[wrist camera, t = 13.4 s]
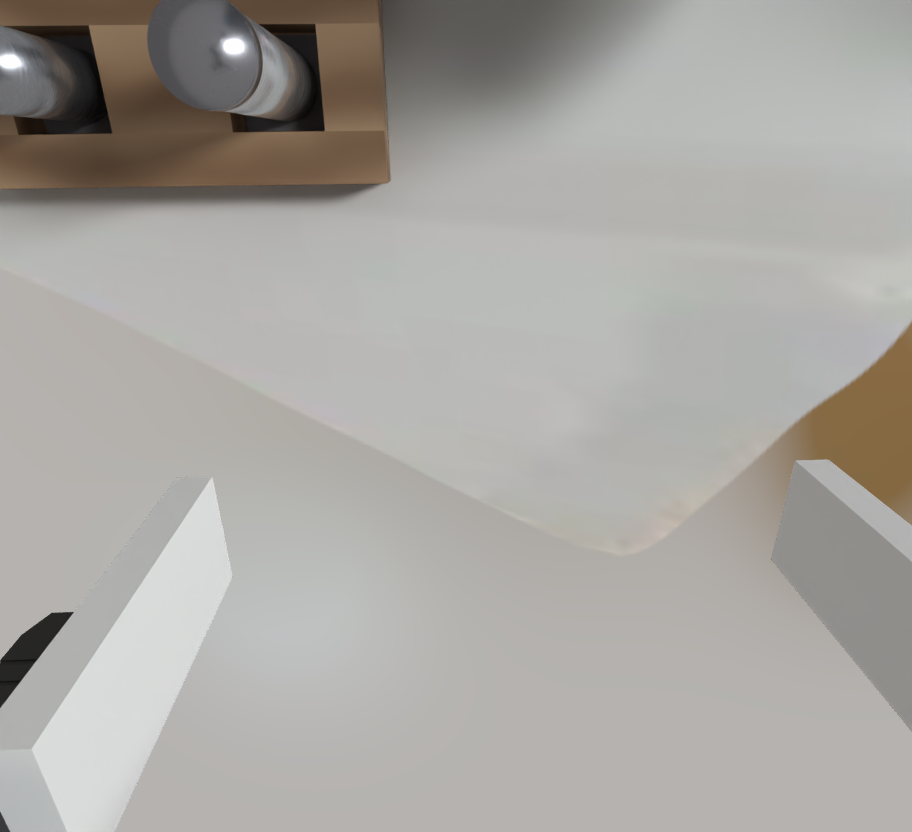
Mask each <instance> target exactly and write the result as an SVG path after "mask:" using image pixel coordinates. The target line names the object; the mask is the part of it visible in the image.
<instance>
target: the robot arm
mask: <svg viewBox="0 0 912 832" xmlns="http://www.w3.org/2000/svg"><path fill="white" fill-rule="evenodd" d="M771 560H772V561H773V563H774V564H775V565H776V566H777V568H778V569H779V570H780V571H781V572H782V574H783V575H784V576H785V577H786V578H787V580H788V581H789V582H790V583H791V585H792V586H793V587H794V588H795V590H796V591H797V592H798V593H799V594H800V596H801V597H802V598H803V599H804V600H805V602H806V603H807V604H808V605H809V607H810V608H811V609H812V610H813V612H814V613H815V614H816V615H817V616H818V618H819V619H820V620H821V621H822V622H823V624H824V625H825V626H826V627H827V629H828V630H829V631H830V632H831V634H832V635H833V636H834V637H835V638H836V640H837V641H838V642H839V643H840V644H841V646H842V647H843V648H844V649H845V651H846V652H847V653H848V654H849V655H850V657H851V658H852V659H853V660H854V661H855V663H856V664H857V665H858V666H859V667H860V669H861V670H862V671H863V673H864V674H865V675H866V676H867V677H868V679H869V680H870V681H871V682H872V683H873V685H874V686H875V687H876V688H877V690H878V691H879V692H880V693H881V694H882V696H883V697H884V698H885V699H886V701H887V702H888V703H889V704H890V706H891V707H892V708H893V709H894V710H895V712H896V713H897V714H898V715H899V717H900V718H901V719H902V720H903V721H904V723H905V724H906V725H907V726H908V728H909V729H910V730H911V731H912V526H911V525H910V524H909V523H907V522H906V521H905V520H904V519H902V518H901V517H900V516H899V515H897V514H896V513H895V512H894V511H892V510H891V509H890V508H888V507H887V506H886V505H885V504H884V503H882V502H881V501H880V500H879V499H877V498H876V497H875V496H873V495H872V494H871V493H870V492H868V491H867V490H866V489H865V488H863V487H862V486H861V485H860V484H858V483H857V482H856V481H854V480H853V479H852V478H851V477H849V476H848V475H847V474H846V473H844V472H843V471H842V470H841V469H839V468H838V467H837V466H836V465H834V464H833V463H832V462H831V461H829V460H799V461H795V464H794V468H793V472H792V476H791V480H790V485H789V488H788V492H787V497H786V501H785V504H784V508H783V512H782V516H781V521H780V525H779V529H778V533H777V537H776V541H775V545H774V549H773V553H772V557H771ZM231 578H232V573H231V568H230V563H229V558H228V552H227V548H226V542H225V537H224V533H223V527H222V523H221V518H220V512H219V508H218V502H217V497H216V493H215V488H214V483H213V478H212V477H178V478H177V479H176V480H175V481H174V482H173V484H172V485H171V486H170V488H169V489H168V490H167V492H166V493H165V494H164V495H163V497H162V498H161V499H160V501H159V502H158V503H157V505H156V506H155V507H154V508H153V510H152V511H151V512H150V514H149V515H148V516H147V518H146V519H145V520H144V522H143V523H142V524H141V525H140V527H139V528H138V529H137V531H136V532H135V533H134V535H133V536H132V537H131V539H130V540H129V541H128V542H127V544H126V545H125V546H124V548H123V549H122V550H121V552H120V553H119V554H118V555H117V557H116V558H115V559H114V561H113V562H112V563H111V565H110V566H109V567H108V569H107V570H106V571H105V572H104V574H103V575H102V576H101V578H100V579H99V580H98V582H97V583H96V584H95V585H94V587H93V588H92V589H91V591H90V592H89V593H88V595H87V596H86V597H85V598H84V600H83V601H82V602H81V604H80V605H79V606H78V608H77V609H76V610H75V611H74V612H63V613H51V614H50V615H48V616H47V617H45V618H44V619H43V620H42V621H40V622H39V623H37V624H36V625H35V626H33V627H32V628H30V629H29V630H28V631H26V632H25V633H24V634H22V635H21V636H20V637H19V639H18V640H17V641H16V642H15V643H14V645H13V646H12V647H11V648H10V649H9V651H8V652H7V653H6V654H5V656H4V657H3V658H2V659H1V660H0V832H115V829H116V827H117V825H118V823H119V821H120V819H121V816H122V814H123V812H124V810H125V808H126V806H127V803H128V801H129V799H130V797H131V795H132V793H133V791H134V788H135V786H136V784H137V782H138V780H139V777H140V775H141V773H142V771H143V769H144V767H145V765H146V762H147V760H148V758H149V756H150V754H151V752H152V749H153V747H154V745H155V743H156V741H157V738H158V736H159V734H160V732H161V730H162V728H163V726H164V723H165V721H166V719H167V717H168V715H169V713H170V711H171V708H172V706H173V704H174V701H175V700H176V697H177V695H178V693H179V691H180V689H181V687H182V685H183V682H184V680H185V678H186V676H187V674H188V672H189V669H190V667H191V665H192V663H193V660H194V658H195V657H196V654H197V652H198V650H199V648H200V646H201V643H202V641H203V639H204V637H205V635H206V633H207V631H208V628H209V626H210V624H211V622H212V620H213V618H214V615H215V613H216V611H217V609H218V607H219V605H220V602H221V600H222V598H223V596H224V594H225V592H226V590H227V587H228V585H229V583H230V581H231Z"/></svg>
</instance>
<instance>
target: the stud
mask: <svg viewBox="0 0 912 832" xmlns="http://www.w3.org/2000/svg"><path fill="white" fill-rule="evenodd" d="M147 45H148V52H149V56H150V60H151V63H152V65H153V68H154V70H155V72H156V74H157V76H158V77H159V79H160V81H161V82H162V83H163V85H164V86H165V87H166V88H167V89H168V90H169V91H170V92H171V93H172V94H173V95H174V96H175V97H176V98H178V99H179V100H181V101H182V102H184V103H186V104H188V105H190V106H192V107H195V108H198V109H203V110H209V111H225V112H231V113H237V114H243V115H249V116H255V117H261V118H268V119H274V120H280V121H295V120H298V119H301V118H302V117H304V116H305V115H306V114H308V113H309V111H310V110H311V109H312V107H313V105H314V103H315V101H316V97H317V90H318V88H317V79H316V75H315V73H314V70H313V68H312V66H311V65H310V63H309V62H308V61H307V59H306V58H305V57H304V56H303V55H301V54H300V53H299V52H297V51H296V50H294V49H293V48H292V47H290V46H289V45H287V44H286V43H284V42H283V41H282V40H280V39H279V38H277V37H276V36H274V35H273V34H271V33H270V32H269V31H267V30H266V29H264V28H263V27H261V26H260V25H259V24H257V23H256V22H254V21H253V20H251V19H250V18H249V17H247V16H246V15H244V14H243V13H242V12H241V11H240V10H239V9H238V8H237V7H235V6H234V5H233V4H231V3H230V2H228V1H227V0H161V1H160V3H159V4H158V5H157V6H156V8H155V10H154V11H153V13H152V16H151V18H150V21H149V26H148V32H147Z"/></svg>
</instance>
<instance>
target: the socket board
mask: <svg viewBox="0 0 912 832" xmlns="http://www.w3.org/2000/svg"><path fill="white" fill-rule="evenodd" d="M160 1H161V0H0V25H2V26H5V27H8V28H12V29H15V30H18V31H22V32H25V33H28V34H32V35H35V36H38V37H42V38H45V39H48V40H52V41H55V42H58V43H62V44H65V45H68V46H71V47H75V48H78V49H81V50H84V51H86V52H88V53H90V54H91V55H93V56H94V57H95V58H96V61H97V66H98V70H99V75H100V79H101V84H102V88H103V93H104V98H105V102H106V107H107V111H108V113H107V114H106V115H105V116H104V117H103V118H102V119H100V120H98V121H96V122H92V123H80V122H69V121H59V120H49V119H38V118H28V117H18V116H7V115H0V189H28V188H98V187H167V186H237V185H307V184H376V183H388V182H389V181H390V162H389V142H388V123H387V104H386V85H385V65H384V46H383V27H382V8H381V0H227V1H228V2H230V3H231V4H233V5H234V6H235V7H237V8H238V9H239V10H240V11H241V12H242V13H243V14H244V15H246V16H247V17H249V18H250V19H251V20H253V21H254V22H256V23H257V24H259V25H260V26H261V27H263V28H264V29H266V30H267V31H269V32H270V33H271V34H273V35H274V36H276V37H277V38H279V39H280V40H282V41H283V42H284V43H286V44H287V45H289V46H290V47H292V48H293V49H294V50H296V51H297V52H299V53H300V54H301V55H303V56H304V57H305V58H306V59H307V61H308V62H309V63H310V65H311V66H312V68H313V70H314V73H315V75H316V79H317V88H318V90H317V97H316V101H315V103H314V105H313V107H312V109H311V110H310V111H309V113H308V114H306V115H305V116H304V117H302V118H301V119H298V120H295V121H280V120H274V119H268V118H261V117H255V116H249V115H243V114H237V113H231V112H225V111H209V110H203V109H198V108H195V107H192V106H190V105H188V104H186V103H184V102H182V101H181V100H179V99H178V98H176V97H175V96H174V95H173V94H172V93H171V92H170V91H169V90H168V89H167V88H166V87H165V86H164V85H163V83H162V82H161V81H160V79H159V77H158V76H157V74H156V72H155V70H154V68H153V65H152V63H151V60H150V56H149V52H148V45H147V32H148V26H149V21H150V18H151V16H152V13H153V11H154V10H155V8H156V6H157V5H158V4H159V3H160Z"/></svg>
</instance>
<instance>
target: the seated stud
mask: <svg viewBox="0 0 912 832" xmlns="http://www.w3.org/2000/svg"><path fill="white" fill-rule="evenodd" d="M107 113H108V111H107V107H106V102H105V98H104V93H103V88H102V84H101V79H100V75H99V70H98V66H97V61H96V58H95V57H94V56H93V55H91V54H90V53H88V52H86V51H84V50H81V49H78V48H75V47H71V46H68V45H65V44H62V43H58V42H55V41H52V40H48V39H45V38H42V37H38V36H35V35H32V34H28V33H25V32H22V31H18V30H15V29H12V28H8V27H5V26H2V25H0V115H7V116H18V117H28V118H38V119H49V120H59V121H69V122H80V123H92V122H96V121H98V120H100V119H102V118H103V117H104V116H105V115H106V114H107Z"/></svg>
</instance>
